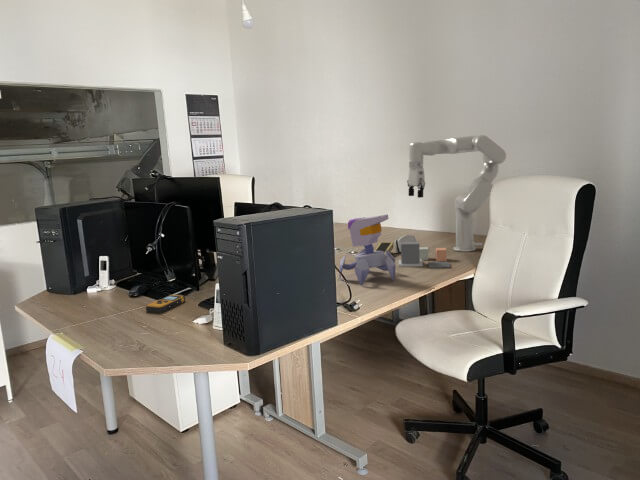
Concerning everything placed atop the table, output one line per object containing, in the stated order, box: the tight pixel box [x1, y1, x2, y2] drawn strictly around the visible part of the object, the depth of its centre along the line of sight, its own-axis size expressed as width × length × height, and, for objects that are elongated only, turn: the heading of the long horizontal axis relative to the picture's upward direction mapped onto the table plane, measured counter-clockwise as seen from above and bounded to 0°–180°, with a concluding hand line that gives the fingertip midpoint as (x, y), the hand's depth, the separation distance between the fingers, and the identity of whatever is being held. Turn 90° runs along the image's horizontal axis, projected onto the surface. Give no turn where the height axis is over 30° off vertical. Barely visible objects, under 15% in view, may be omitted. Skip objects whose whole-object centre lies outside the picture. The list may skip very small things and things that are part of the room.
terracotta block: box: [435, 247, 447, 262], centre depth 256 cm, size 5×5×6 cm
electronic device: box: [145, 294, 186, 314], centre depth 203 cm, size 8×16×3 cm, turn 157°
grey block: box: [419, 246, 429, 261], centre depth 260 cm, size 5×5×6 cm
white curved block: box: [394, 234, 421, 254], centre depth 283 cm, size 17×5×10 cm, turn 132°
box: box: [374, 241, 395, 259], centre depth 272 cm, size 8×22×5 cm, turn 159°
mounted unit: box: [397, 241, 424, 268], centre depth 250 cm, size 12×10×11 cm
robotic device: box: [338, 214, 397, 287], centre depth 226 cm, size 26×25×30 cm
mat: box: [427, 261, 451, 269], centre depth 245 cm, size 10×10×1 cm
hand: (415, 196), depth 270 cm, fingers open, 9 cm apart
